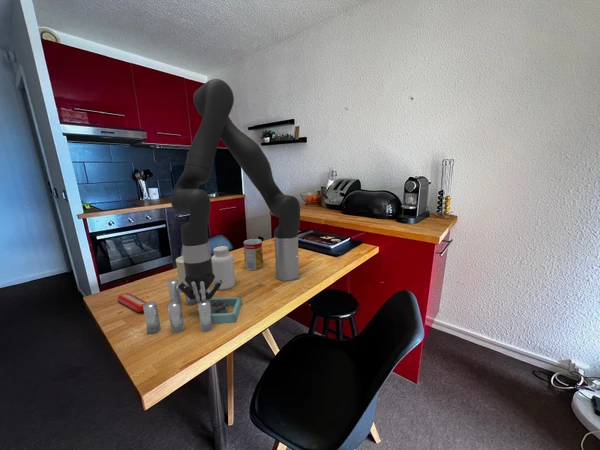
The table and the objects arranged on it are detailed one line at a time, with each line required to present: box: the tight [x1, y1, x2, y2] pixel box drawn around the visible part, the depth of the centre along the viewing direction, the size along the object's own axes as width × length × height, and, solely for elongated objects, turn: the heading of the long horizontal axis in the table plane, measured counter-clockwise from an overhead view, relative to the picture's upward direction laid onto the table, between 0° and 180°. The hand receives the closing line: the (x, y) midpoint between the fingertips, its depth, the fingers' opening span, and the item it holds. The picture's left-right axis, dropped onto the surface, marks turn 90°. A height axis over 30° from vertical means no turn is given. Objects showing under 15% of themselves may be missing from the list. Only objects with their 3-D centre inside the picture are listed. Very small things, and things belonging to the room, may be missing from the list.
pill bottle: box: [211, 245, 236, 290], centre depth 93 cm, size 8×8×15 cm
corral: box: [209, 296, 242, 324], centre depth 77 cm, size 10×10×2 cm
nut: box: [210, 299, 229, 314], centre depth 77 cm, size 5×6×3 cm
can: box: [175, 255, 186, 292], centre depth 93 cm, size 9×9×12 cm
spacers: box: [143, 278, 214, 335], centre depth 76 cm, size 18×17×8 cm
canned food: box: [243, 238, 264, 271], centre depth 111 cm, size 8×8×12 cm
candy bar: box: [117, 293, 148, 313], centre depth 82 cm, size 16×4×3 cm, turn 58°
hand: (203, 310), depth 77 cm, fingers closed
